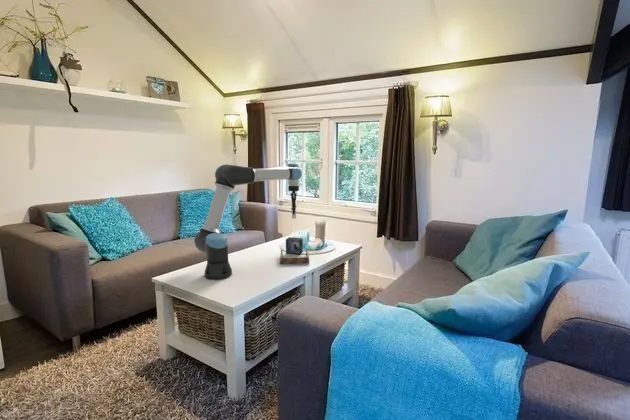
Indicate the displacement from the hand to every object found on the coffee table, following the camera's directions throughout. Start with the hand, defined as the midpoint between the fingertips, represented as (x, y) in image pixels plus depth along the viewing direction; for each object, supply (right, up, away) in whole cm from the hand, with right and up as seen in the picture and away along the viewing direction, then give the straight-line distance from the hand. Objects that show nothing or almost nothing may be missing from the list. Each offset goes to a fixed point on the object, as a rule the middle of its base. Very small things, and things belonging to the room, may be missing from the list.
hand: (293, 217), depth 243 cm
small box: (+1, -25, -7) cm, 26 cm away
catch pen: (+2, -27, -20) cm, 34 cm away
